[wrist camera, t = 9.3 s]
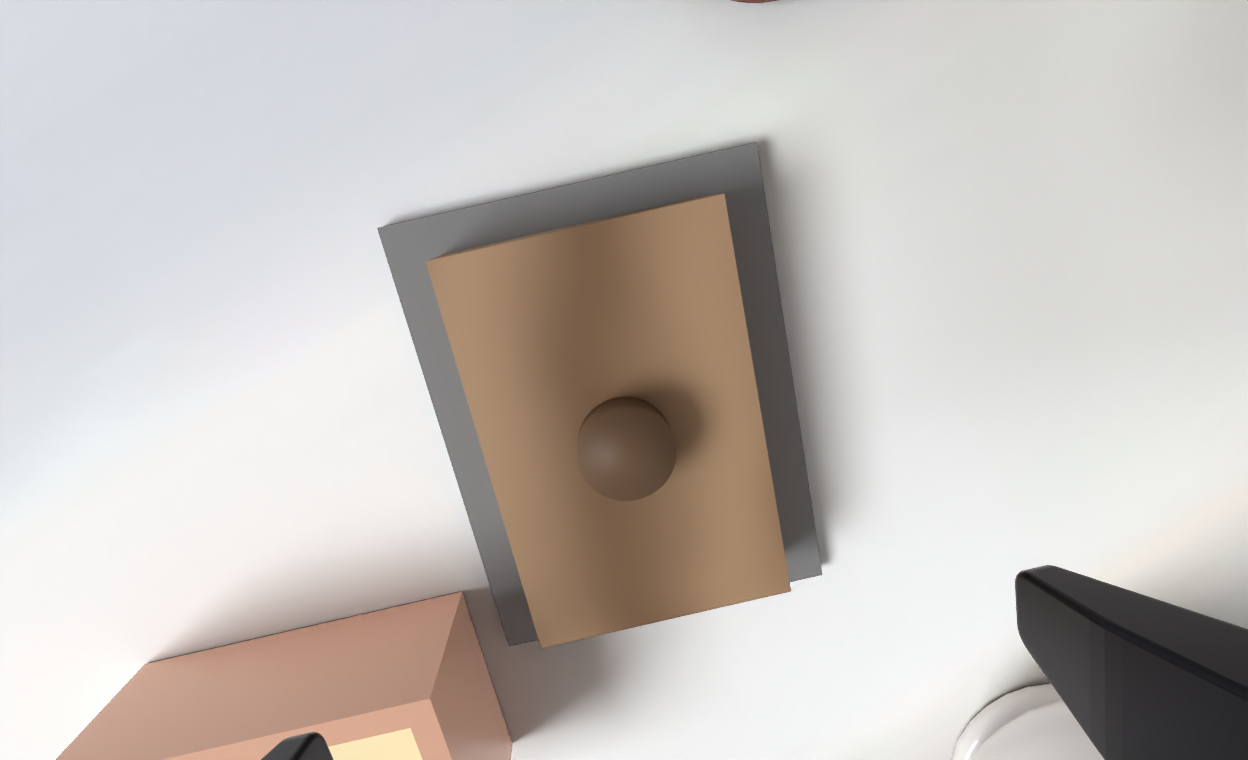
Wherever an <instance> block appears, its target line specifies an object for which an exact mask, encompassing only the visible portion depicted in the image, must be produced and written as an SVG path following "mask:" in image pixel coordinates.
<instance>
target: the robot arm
mask: <svg viewBox="0 0 1248 760" xmlns="http://www.w3.org/2000/svg"><path fill="white" fill-rule="evenodd" d="M1015 591H1016V610H1017V626H1018V631H1019V634H1020V637H1021V639H1022V641H1023V643H1024V645H1025V647H1026V648H1027V650H1028V651H1029V653H1030V654H1031V655H1032V657H1033V658H1034V660H1035V661H1036V663H1037V664H1038V666H1039V667H1040V668H1041V670H1042V671H1043V673H1044V674H1045V676H1046V677H1047V679H1048V680H1049V681H1050V683H1051V684H1052V686H1053V687H1054V689H1055V690H1056V692H1057V693H1058V694H1059V696H1060V697H1061V699H1062V700H1063V702H1064V703H1065V705H1066V706H1067V707H1068V709H1069V710H1070V712H1071V713H1072V715H1073V716H1074V718H1075V719H1076V720H1077V722H1078V723H1079V725H1080V726H1081V728H1082V729H1083V731H1084V732H1085V733H1086V735H1087V736H1088V738H1089V739H1090V741H1091V742H1092V743H1093V745H1094V746H1095V748H1096V749H1097V750H1098V752H1099V753H1100V754H1101V756H1102V757H1103V758H1104V760H1248V629H1246V628H1243V627H1240V626H1236V625H1233V624H1230V623H1227V622H1224V621H1221V620H1218V619H1215V618H1212V617H1209V616H1206V615H1203V614H1200V613H1197V612H1194V611H1191V610H1188V609H1185V608H1181V607H1178V606H1175V605H1172V604H1169V603H1166V602H1163V601H1160V600H1157V599H1154V598H1151V597H1148V596H1145V595H1142V594H1139V593H1136V592H1133V591H1130V590H1126V589H1123V588H1120V587H1117V586H1114V585H1111V584H1108V583H1105V582H1102V581H1099V580H1096V579H1093V578H1090V577H1087V576H1084V575H1081V574H1078V573H1075V572H1071V571H1068V570H1065V569H1062V568H1059V567H1056V566H1052V565H1046V566H1041V567H1037V568H1032V569H1028V570H1023V571H1021V572H1020V573H1018V575H1017V576H1016V579H1015ZM261 760H333V757H332V755H331V753H330V750H329V748H328V746H327V743H326V741H325V739H324V737H323V736H322V735H321V734H320V733H318V732H309V733H305V734H300V735H296V736H291V737H288V738H286V739H284V740H282V741H281V742H280V743H279V744H277V745H276V746H275V747H274V748H273V749H272V750H271V751H270V752H269V753H267V754H266V755H265V756H264V757H263V758H262V759H261Z"/></svg>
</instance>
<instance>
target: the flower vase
mask: <svg viewBox="0 0 1248 760" xmlns="http://www.w3.org/2000/svg"><path fill="white" fill-rule="evenodd" d="M951 760H1104V758H1103V757H1102V756H1101V754H1100V753H1099V752H1098V750H1097V749H1096V748H1095V746H1094V745H1093V743H1092V742H1091V741H1090V739H1089V738H1088V736H1087V735H1086V733H1085V732H1084V731H1083V729H1082V728H1081V726H1080V725H1079V723H1078V722H1077V720H1076V719H1075V718H1074V716H1073V715H1072V713H1071V712H1070V710H1069V709H1068V707H1067V706H1066V705H1065V703H1064V702H1063V700H1062V699H1061V697H1060V696H1059V694H1058V693H1057V692H1056V690H1055V689H1054V687H1053V686H1052V684H1044V685H1037V686H1030V687H1025V688H1022V689H1020V690H1017V691H1014V692H1011V693H1008V694H1006V695H1004V696H1002V697H1001V698H999V699H997V700H996V701H994V702H992V703H991V704H989V705H987V706H986V707H985V708H984V709H983V710H982V711H980V712H979V713H978V714H977V715H976V716H975V717H974V718H973V719H972V720H971V721H970V722H969V724H968V725H967V726H966V728H965V729H964V731H963V732H962V734H961V735H960V737H959V738H958V740H957V743H956V746H955V749H954V752H953V755H952V758H951Z"/></svg>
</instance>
